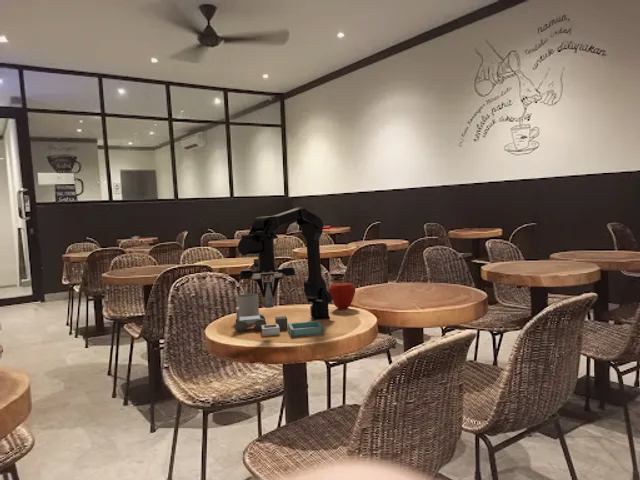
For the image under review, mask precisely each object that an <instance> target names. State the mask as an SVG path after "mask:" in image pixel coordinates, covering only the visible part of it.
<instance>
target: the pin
mask: <svg viewBox="0 0 640 480" xmlns="http://www.w3.org/2000/svg"><path fill="white" fill-rule="evenodd" d="M262 284H263V289H264V298H263V300H264V301H263V302H264V308H266V309H272V308H274V297H273V281H272V280H265V281H262Z"/></svg>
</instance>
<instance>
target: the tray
mask: <svg viewBox="0 0 640 480" xmlns="http://www.w3.org/2000/svg"><path fill="white" fill-rule="evenodd" d="M287 325H288V329H287V330H288V333H289V335H290V337H291V338H296V337H297V338H298V337H308V336H309V337H310V336H318V335H319V336H320V335H324V326H323V325H322V323H321V322H320V321H319V320H313V321H309V320H308V321H302V322H300V321H299V322H287Z"/></svg>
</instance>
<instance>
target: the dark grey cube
mask: <svg viewBox="0 0 640 480" xmlns="http://www.w3.org/2000/svg"><path fill="white" fill-rule="evenodd" d="M274 319H275V320H274V321H275V324H278V325H279V328H280V331H281V330H283V331H284V330H288V317H287V316H286V315H285V316H284V315H283V316H275V318H274Z"/></svg>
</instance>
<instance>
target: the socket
mask: <svg viewBox="0 0 640 480" xmlns="http://www.w3.org/2000/svg"><path fill="white" fill-rule="evenodd" d="M280 331H281V330H280V328H279V325H278V324H276V323H273V324H272V323H271V324H266V325H261V336H262V337H268V336H278V335H281V333H280Z"/></svg>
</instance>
